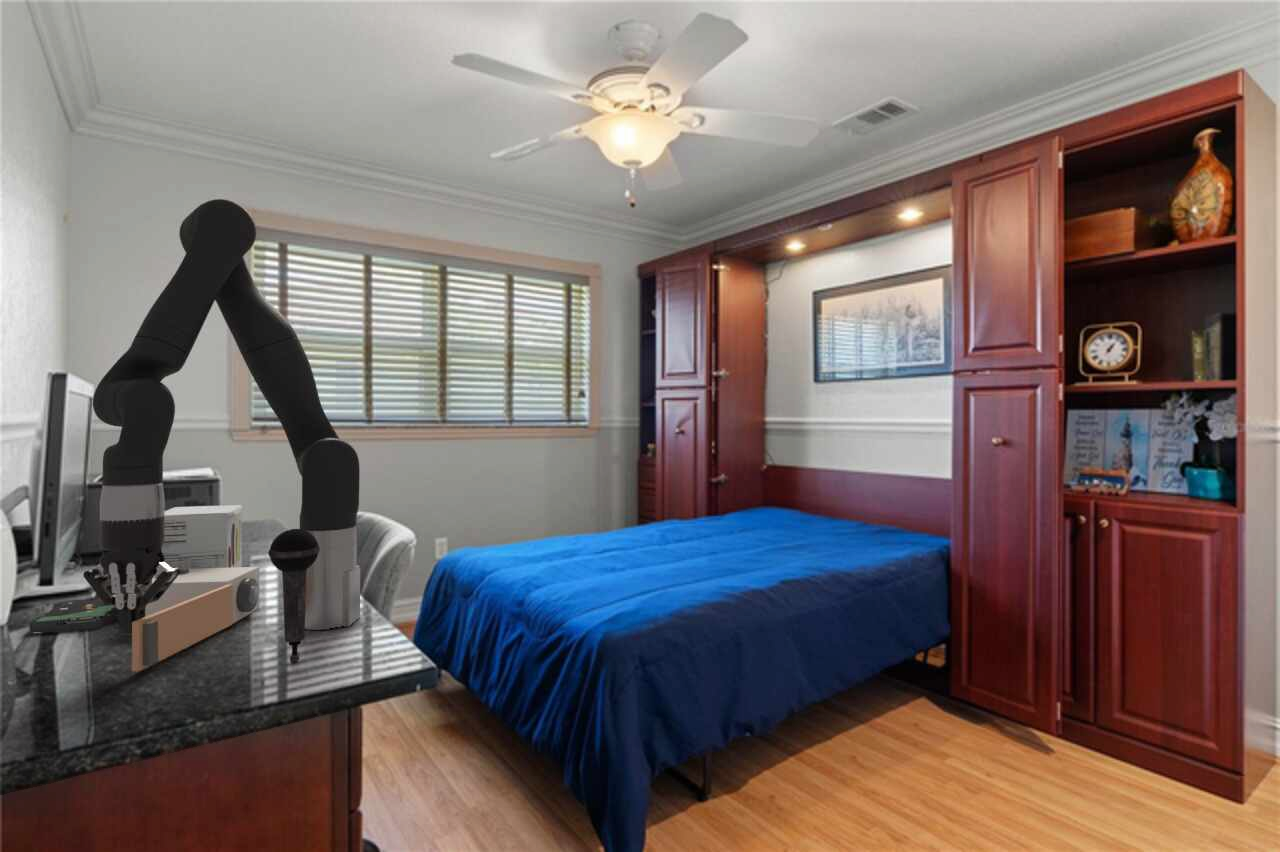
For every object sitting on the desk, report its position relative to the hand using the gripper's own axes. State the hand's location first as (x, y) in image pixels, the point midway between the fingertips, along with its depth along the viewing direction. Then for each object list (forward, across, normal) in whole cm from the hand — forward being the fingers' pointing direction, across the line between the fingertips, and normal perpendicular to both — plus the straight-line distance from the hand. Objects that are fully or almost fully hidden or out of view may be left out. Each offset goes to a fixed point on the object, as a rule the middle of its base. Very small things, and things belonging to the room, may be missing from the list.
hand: (131, 632), depth 96 cm
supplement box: (+6, +18, -42) cm, 46 cm away
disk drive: (+6, +27, -24) cm, 37 cm away
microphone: (+5, -23, -2) cm, 24 cm away
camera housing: (+5, +7, -25) cm, 26 cm away
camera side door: (+5, -3, -8) cm, 10 cm away
